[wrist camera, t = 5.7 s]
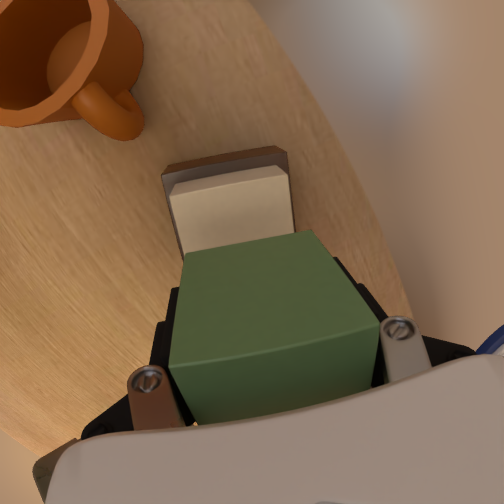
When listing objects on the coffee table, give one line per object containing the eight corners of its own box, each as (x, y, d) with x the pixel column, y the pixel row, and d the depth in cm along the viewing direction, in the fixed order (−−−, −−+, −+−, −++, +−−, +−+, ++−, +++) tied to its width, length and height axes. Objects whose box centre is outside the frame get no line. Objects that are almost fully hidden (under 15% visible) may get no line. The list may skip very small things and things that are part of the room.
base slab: (275, 145, 22) (286, 151, 19) (287, 242, 26) (298, 262, 22) (167, 165, 22) (160, 175, 18) (191, 261, 25) (189, 283, 22)
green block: (311, 228, 12) (382, 323, 7) (316, 326, 14) (362, 430, 9) (184, 252, 12) (166, 366, 6) (212, 347, 14) (217, 460, 9)
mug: (86, 174, 21) (28, 212, 13) (26, 58, 16) (-45, 49, 7) (186, 111, 20) (171, 110, 12) (118, -10, 15) (76, -60, 7)
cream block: (276, 164, 19) (287, 174, 16) (287, 255, 22) (298, 276, 19) (174, 183, 19) (168, 196, 16) (196, 272, 22) (195, 296, 19)
